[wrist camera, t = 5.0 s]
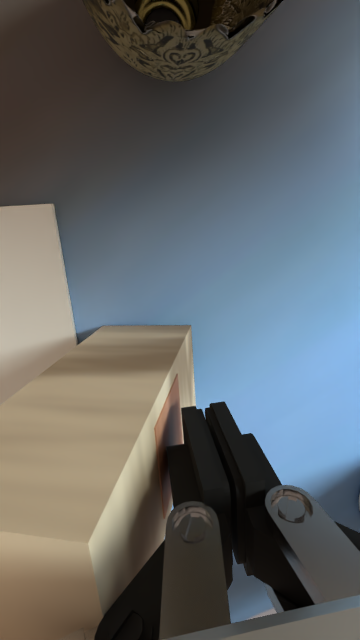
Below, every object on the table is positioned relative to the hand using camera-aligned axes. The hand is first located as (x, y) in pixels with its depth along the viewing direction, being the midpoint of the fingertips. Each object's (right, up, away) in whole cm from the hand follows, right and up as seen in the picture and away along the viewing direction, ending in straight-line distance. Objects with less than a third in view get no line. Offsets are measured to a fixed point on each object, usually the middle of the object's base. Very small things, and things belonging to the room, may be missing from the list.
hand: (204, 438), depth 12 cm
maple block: (-3, +2, +6) cm, 7 cm away
